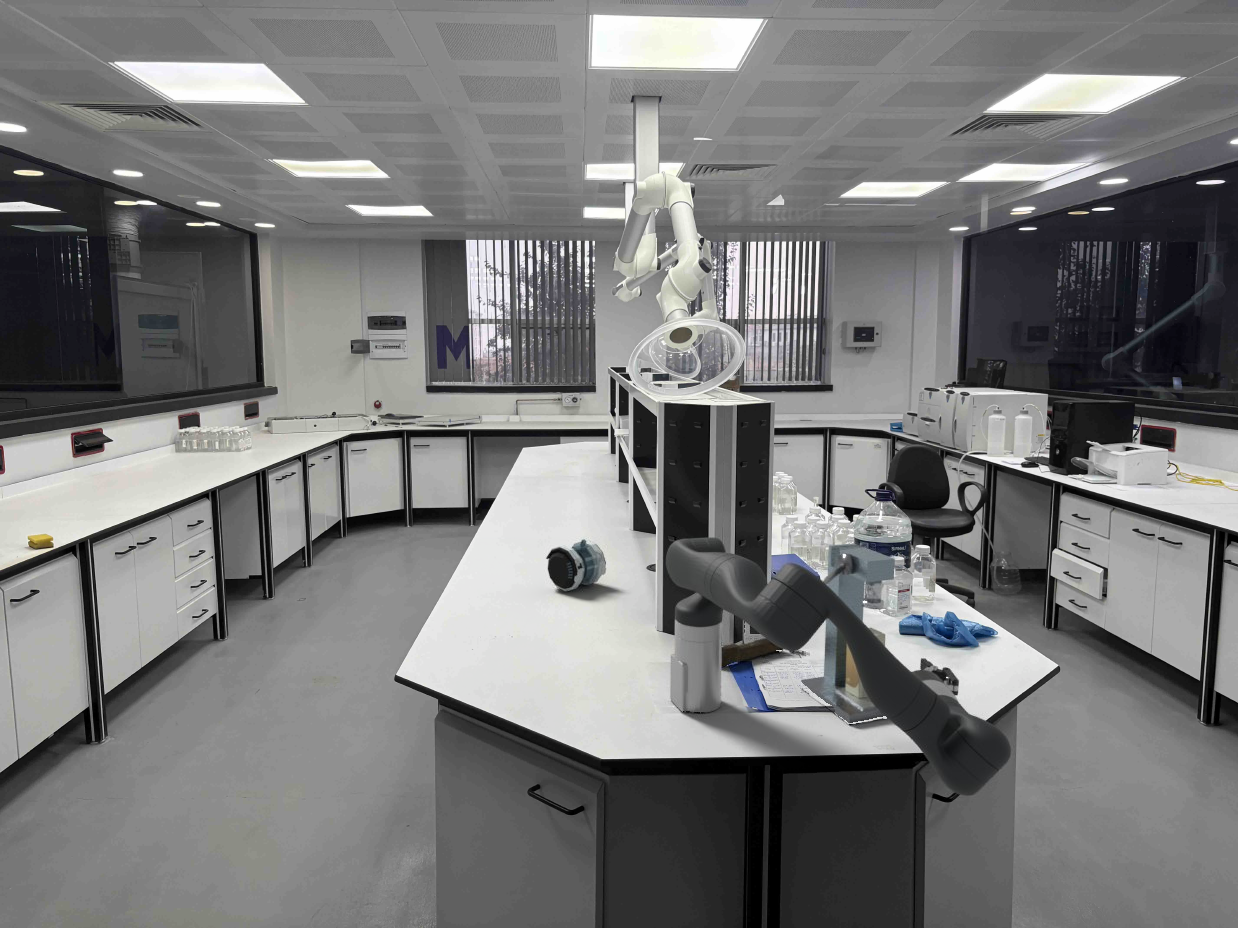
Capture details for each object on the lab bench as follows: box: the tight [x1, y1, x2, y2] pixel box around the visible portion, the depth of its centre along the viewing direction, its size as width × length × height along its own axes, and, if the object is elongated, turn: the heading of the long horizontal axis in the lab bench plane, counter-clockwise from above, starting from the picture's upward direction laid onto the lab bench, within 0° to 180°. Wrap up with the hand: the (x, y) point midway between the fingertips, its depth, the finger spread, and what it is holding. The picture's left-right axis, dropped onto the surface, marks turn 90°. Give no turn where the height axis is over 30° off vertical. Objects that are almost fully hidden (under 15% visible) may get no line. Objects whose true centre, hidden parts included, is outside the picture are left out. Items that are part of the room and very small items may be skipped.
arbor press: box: [800, 542, 896, 723], centre depth 156 cm, size 22×17×30 cm
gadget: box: [545, 538, 607, 592], centre depth 234 cm, size 14×13×15 cm
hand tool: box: [721, 637, 784, 668], centre depth 181 cm, size 19×4×5 cm, turn 122°
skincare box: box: [846, 627, 886, 698], centre depth 156 cm, size 6×4×12 cm
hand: (898, 662), depth 142 cm, fingers open, 8 cm apart
